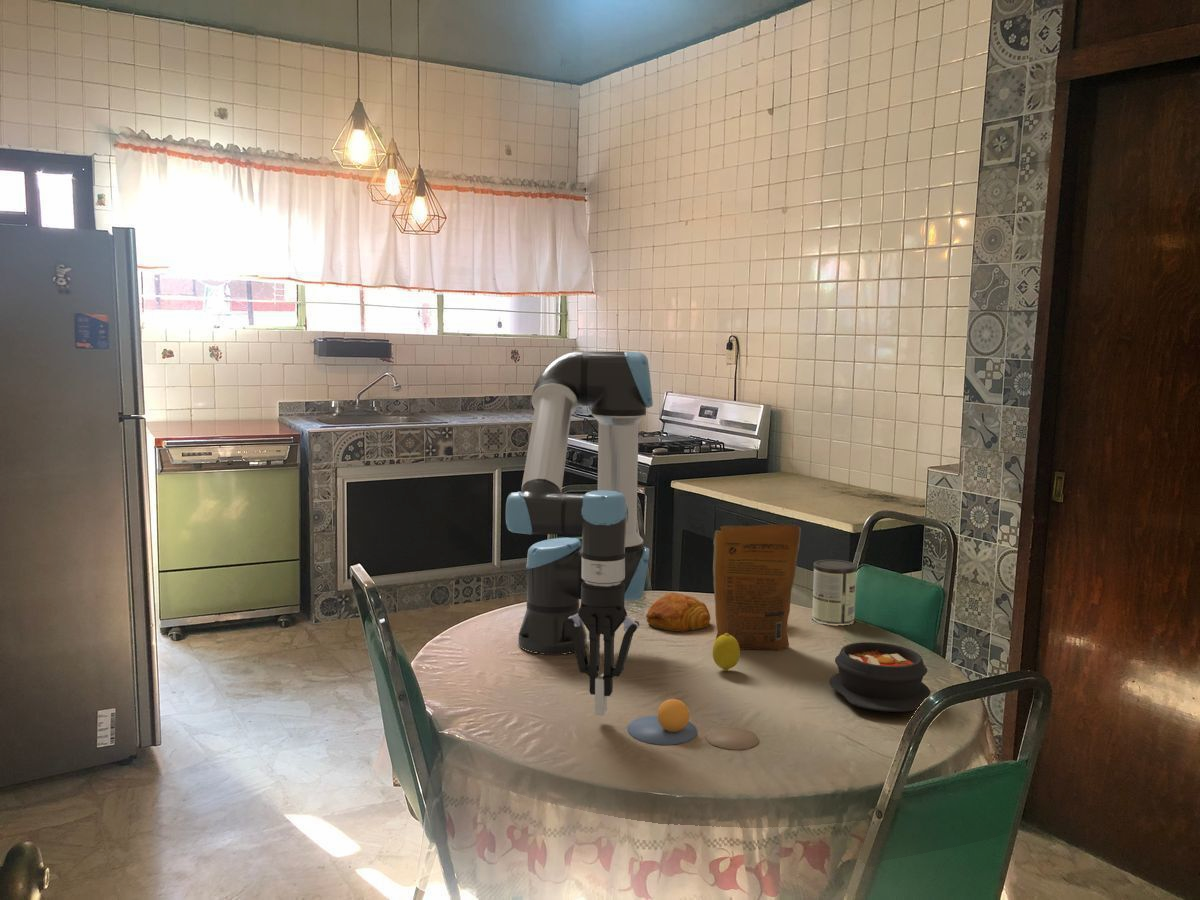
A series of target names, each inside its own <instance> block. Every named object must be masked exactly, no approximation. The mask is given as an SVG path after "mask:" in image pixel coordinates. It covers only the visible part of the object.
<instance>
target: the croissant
mask: <svg viewBox="0 0 1200 900" xmlns="http://www.w3.org/2000/svg"><path fill="white" fill-rule="evenodd" d="M645 617H646V622H647V623H649V624H648V625H650V626H652V627H654V626H655V627H654V628H657V629H660V628H662V629H661V630H663V629H666V630H665V631H670V630H672V631H674V632H679V631H681V632H680V633H684V632H686V631H687V632H690V630H689V629H693V630H692V631H695V629H696V630H700V629H703V628H706V627H707V626H709V624H710V622H711V621H710V620H711V614H710V612H709V609H708V606H707V605H706V603H704V602H702V601H700V600H698V599H697V598H696V597H694V596H690V595H688V594H682V593H681V594H679V593H675V592H670V593H666V594H664V595H663V596H661V597H660V598H659V599H656V600H654V601H653V603H652V604H651V606H650V607H649V609H648V611H647V614H646V615H645Z"/></svg>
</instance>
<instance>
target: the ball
mask: <svg viewBox="0 0 1200 900" xmlns="http://www.w3.org/2000/svg"><path fill="white" fill-rule="evenodd" d="M657 716H658V721H659V723H660V725H661V726H662V727H663V728H664V729H665V730H667V731H670V732H678V731H681V730H682V729H684V728H685V727H686V725H687V724H688V722H690V711H689V708H688V706H687V705H686V704H685V703H684V702H683V701H682V700H679V699H676V698H670V699H665V701H663V702H662V703H661V704H660V705H659V707H658V710H657Z"/></svg>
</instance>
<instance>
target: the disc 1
mask: <svg viewBox="0 0 1200 900" xmlns="http://www.w3.org/2000/svg"><path fill="white" fill-rule="evenodd" d="M627 732H628V734H629V736H631V737H632V736H633V737H632V738H633V739H635V738H636V740H637V739H638V741H640V742H643V743H647V744H650V743H652V745H658V744H659V745H660V746H670V745H671V746H672V745H673V746H674V745H679V744H684V743H687V742H690V741H691V740H694V738H696V737H697V734H698V728H697V727H696V725H694V724H693V723H692V722H691V721H689V722H688V724H687V725H686V727H685V728H684V729H682V730H681V731H678V732H670V731H667V730H665V729H664V728H663V727H662V726H661V725H660V723H659V721H658V716H657V715H647V716H646V715H645V716H642V717H638V718H636V719H634V720H631V721H630V722H629V723H628V725H627Z"/></svg>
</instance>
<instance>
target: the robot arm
mask: <svg viewBox="0 0 1200 900" xmlns="http://www.w3.org/2000/svg"><path fill="white" fill-rule="evenodd" d="M648 359H649V358H648V357H647V356H646V354H644V353H642V352H636V351H634V352H633V351H626V350H624V351H623V350H622V351H618V350H617V351H616V350H615V351H604V350H603V351H600V350H599V351H593V350H592V351H589V350H588V351H585V350H575V351H574V350H573V351H569V352H567V353H565V354H563V355H560V356H559V357H558V358H556V359H554V360H553V361H552V362H551V363H549V364H548V365H547V366H546V367H545V368H544V369H543V370H542V372H541V373H540V375H539V376H538V378H537V379H536V381H535V383H534V386H533V389H532V394H531V405H532V407H533V409H534V410H533V411H534V412H533V417H532V424H531V429H530V434H529V441H528V448H527V453H526V458H525V465H524V470H523V471H524V472H523V478H522V481H521V482H522V484H521V491H517V492H516V491H515V492H510V493H509V494H508V496H507V498H506V503H505V525H506V528H507V530H508V531H510V532H511V533H515V534H516V533H517V534H525V535H530V536H531V535H565V536H581V539H582V540H581V541H580V539H579V538H577V537H556V538H555V537H554V538H549V539H544V540H541V541H538V542H535V543H534V544H532V545H531V546H530V547H529V548H528V550H527V555H526V557H527V558H526V565H525V568H526V609H525V614H524V617H523V620H522V623H521V626H520V630H519V632H518V643H519V644H518V646H519V645H520V646H521V647H522V648H524V649H526V650H529V651H532V652H531V653H533V652H537V653H536V654H538V653H544V654H543V655H565V654H564V653H567V654H570V653H569V652H572V653H575V657H576V661H577V666H578V671H579V673H581V674H585V675H588V677H589V693H590V695H593V696H594V716H604V715H605V713H606V712H607V710H608V697H611V695H612V693H613V692H614V691H613V688H614V685H613V684H614V680H613V679H614V678H616V677H620V676H621V675H622V673H623V672H624V669H625V666H626V662H627V658H628V654H629V651H630V648H631V644H632V640H633V636H634V633H635V632H636V631H637V629H638V628H639V627H640V623H639V621H638V620H633V619H631V618H630V617H628V612H627V611H626V607H625V602H626V601H627V602H630V601H631V602H632V601H638V600H640V599H642V597H643V594H644V590H645V585H646V580H647V575H648V574H647V572H648V566H649V565H648V564H649V559H650V548H648V547H646V546H644V539H643V538H642V537H641V535H640V534H638V532H637V527H638V525H637V520H638V519H637V517H638V473H639V471H638V470H639V468H638V467H639V466H638V465H639V424H640V423H641V421H642V420H643V419H644V418H645V417H646V415H647V409H649V408H652V407H653V406H654V401H653V392H652V383H651V373H650V365H649V364H650V363H649V360H648ZM578 406H582V407H585V406H587V407H591V416H592V417H593V418H594V419H595V420H596V421H597V424H598V436H597V438H598V440H597V445H598V447H597V449H598V450H597V490H591V491H587V492H586V493H585V494H584V493H562V492H563V483H564V474H565V469H566V468H565V467H566V458H567V451H568V442H569V435H570V429H571V427H570V426H571V420H572V419H571V417H572V415H574V413H575V411H576V410H577V407H578ZM622 624H623V631H624V635H623V637H622V640H621V644H620V648H619V652H618V654H617V655H618V656H617V658H616V663H615V659H614V658H615V635H616V632H617V630H619V628H620V626H621V625H622ZM586 629H587V631H588V634H587V631H586ZM587 635H588V636H587ZM601 635H603V673H599V672H600V671H601V669H600V658H601V657H600V654H601V653H600V651H601V650H600V648H601V645H600V644H601ZM587 637H588V639H589V657H588V653H587V652H588V651H587V649H586V648H587V647H586V646H587V645H588V641H587V640H588V639H587ZM586 644H587V645H586ZM520 646H519V647H520ZM521 647H520V648H521ZM522 648H521V649H522ZM524 649H523V650H524ZM526 650H525V651H526ZM529 651H528V652H529ZM574 651H575V652H574ZM614 665H615V666H614Z"/></svg>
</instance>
